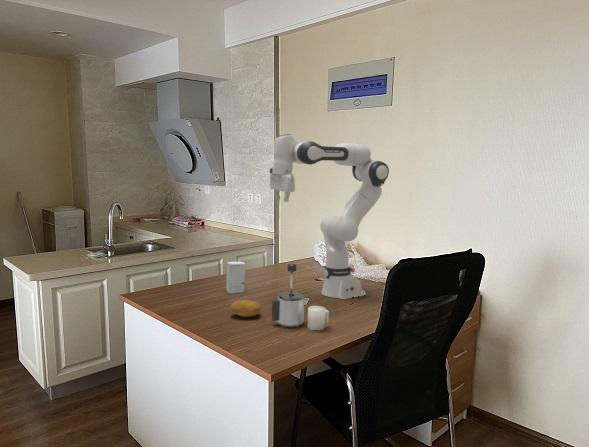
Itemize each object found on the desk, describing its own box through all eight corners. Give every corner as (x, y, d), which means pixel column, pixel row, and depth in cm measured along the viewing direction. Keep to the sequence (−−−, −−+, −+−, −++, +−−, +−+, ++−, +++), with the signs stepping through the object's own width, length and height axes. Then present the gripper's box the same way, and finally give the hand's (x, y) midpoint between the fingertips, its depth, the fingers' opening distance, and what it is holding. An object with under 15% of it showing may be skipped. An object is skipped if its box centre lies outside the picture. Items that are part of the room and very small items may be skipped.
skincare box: (228, 293, 216) (229, 264, 214) (225, 290, 221) (226, 261, 219) (245, 292, 219) (245, 263, 217) (241, 289, 224) (242, 260, 222)
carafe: (297, 317, 186) (298, 290, 184) (307, 326, 176) (308, 297, 174) (268, 320, 181) (268, 292, 179) (276, 329, 171) (277, 300, 170)
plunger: (295, 296, 182) (297, 262, 180) (303, 302, 176) (304, 266, 174) (278, 298, 180) (279, 263, 178) (285, 304, 173) (286, 267, 171)
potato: (259, 320, 180) (259, 304, 179) (228, 319, 181) (228, 303, 180) (261, 313, 190) (262, 297, 189) (232, 312, 190) (232, 296, 189)
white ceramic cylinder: (323, 323, 180) (323, 304, 179) (330, 329, 173) (331, 310, 172) (304, 325, 176) (305, 306, 175) (311, 332, 170) (312, 312, 169)
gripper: (299, 171, 192) (297, 202, 194) (280, 169, 210) (279, 198, 212) (285, 170, 189) (284, 202, 191) (268, 169, 207) (267, 198, 209)
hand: (281, 200), depth 202 cm, fingers open, 8 cm apart
